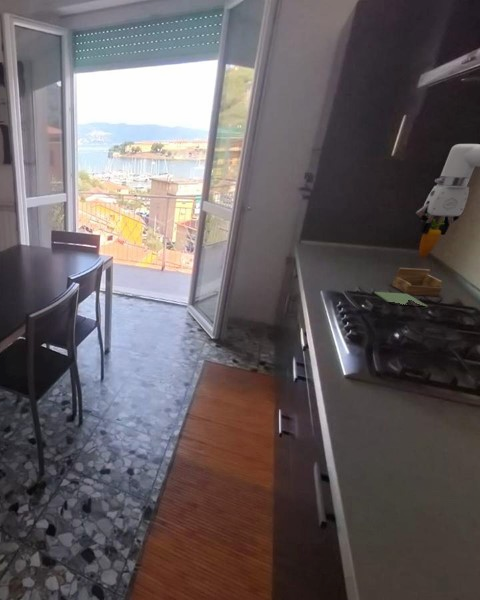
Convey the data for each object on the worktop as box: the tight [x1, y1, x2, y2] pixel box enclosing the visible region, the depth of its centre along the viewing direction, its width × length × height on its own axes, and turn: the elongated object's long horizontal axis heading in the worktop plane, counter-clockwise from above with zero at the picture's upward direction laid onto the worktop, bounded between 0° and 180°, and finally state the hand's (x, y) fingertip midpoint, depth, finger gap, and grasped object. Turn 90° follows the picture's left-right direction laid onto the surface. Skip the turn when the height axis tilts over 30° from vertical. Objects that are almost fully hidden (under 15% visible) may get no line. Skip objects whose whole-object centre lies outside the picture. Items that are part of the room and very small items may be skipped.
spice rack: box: [391, 267, 443, 297], centre depth 145 cm, size 10×11×8 cm
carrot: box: [418, 218, 444, 259], centre depth 133 cm, size 5×5×15 cm
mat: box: [373, 291, 429, 309], centre depth 138 cm, size 12×12×1 cm
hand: (432, 233), depth 132 cm, fingers closed on carrot, 4 cm apart
